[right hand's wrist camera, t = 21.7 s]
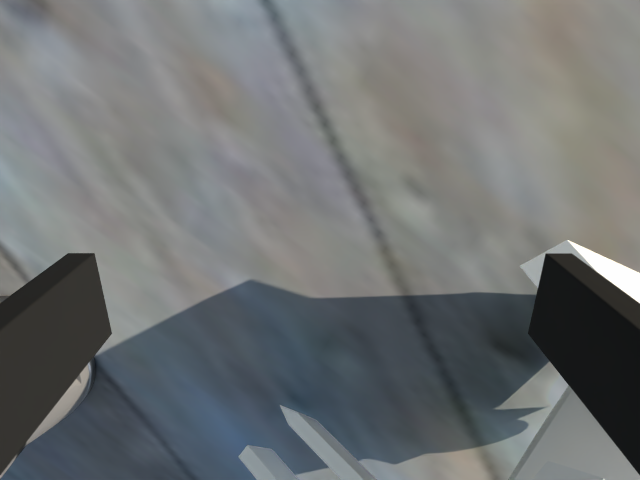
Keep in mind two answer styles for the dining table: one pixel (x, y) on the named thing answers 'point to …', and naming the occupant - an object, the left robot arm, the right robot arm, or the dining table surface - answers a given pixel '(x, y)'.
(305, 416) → the white plastic object
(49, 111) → the dining table surface
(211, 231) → the dining table surface
